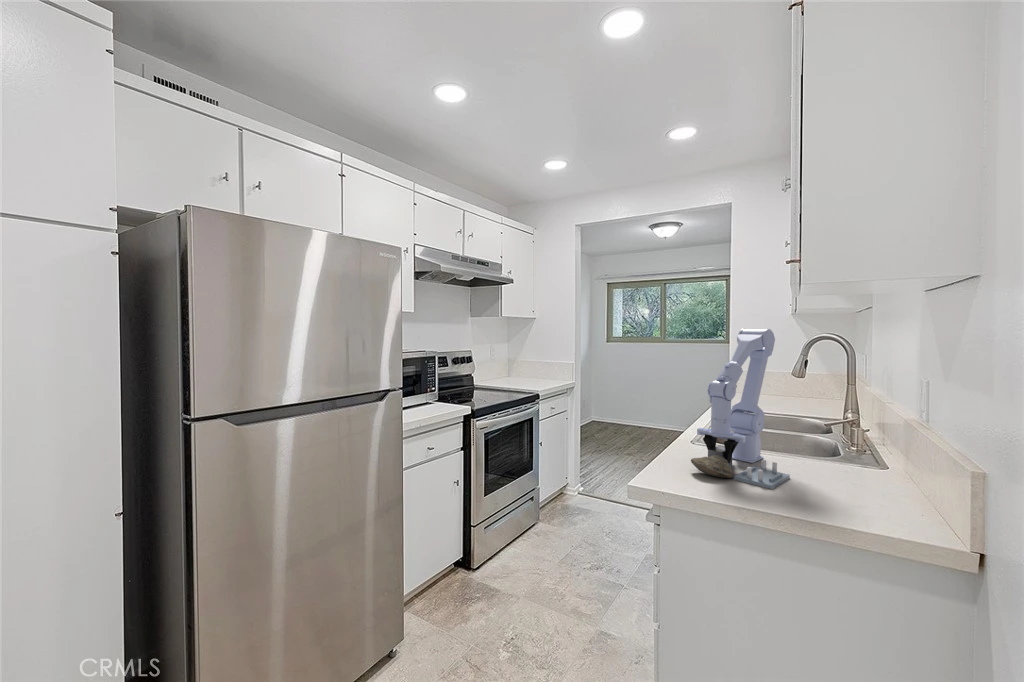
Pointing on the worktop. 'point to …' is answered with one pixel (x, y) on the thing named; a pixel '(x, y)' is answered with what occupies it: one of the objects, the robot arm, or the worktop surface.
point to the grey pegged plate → (762, 476)
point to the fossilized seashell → (713, 466)
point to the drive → (718, 452)
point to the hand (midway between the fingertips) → (720, 460)
